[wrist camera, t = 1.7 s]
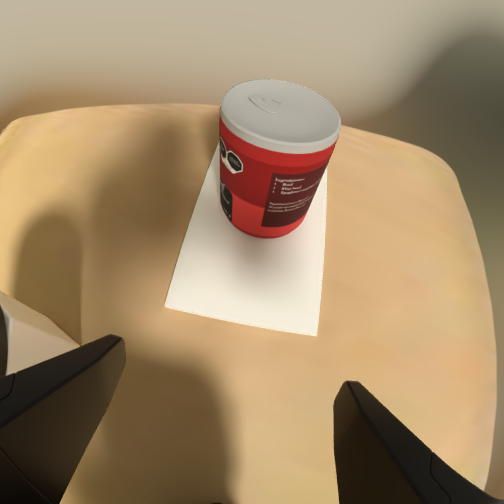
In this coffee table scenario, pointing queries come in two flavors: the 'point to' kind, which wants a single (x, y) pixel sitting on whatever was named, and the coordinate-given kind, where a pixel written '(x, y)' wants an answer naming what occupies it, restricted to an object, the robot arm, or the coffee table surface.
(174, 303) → the letter mat
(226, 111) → the canned food
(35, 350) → the jar
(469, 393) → the coffee table surface
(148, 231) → the coffee table surface
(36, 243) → the coffee table surface
